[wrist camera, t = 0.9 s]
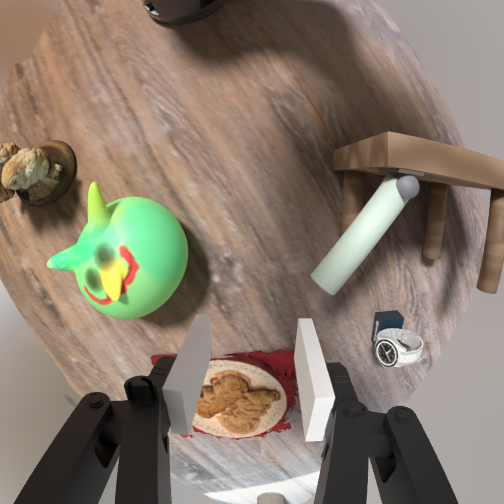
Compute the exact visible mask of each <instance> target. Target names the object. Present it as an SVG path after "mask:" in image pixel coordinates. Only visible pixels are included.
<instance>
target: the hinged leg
mask: <svg viewBox="0 0 504 504" xmlns="http://www.w3.org/2000/svg"><path fill="white" fill-rule="evenodd" d="M418 192H419V182H418V180H417V179H416V178H415V177H414V176H411V175H387V176H385V177H384V178H383V180H382V184H381V185H380V186H379V188H378V189H377V191H376V192H375V193H374V195H373V196H372V197H371V199H370V200H369V201H368V203H367V204H366V205H365V207H364V208H363V209H362V211H361V212H360V213H359V214H358V216H357V217H356V218H355V220H354V221H353V222H352V224H351V225H350V226H349V227H348V229H347V230H346V231H345V233H344V234H343V235H342V236H341V238H340V239H339V240H338V241H337V243H336V244H335V245H334V246H333V248H332V249H331V250H330V251H329V253H328V254H327V255H326V256H325V258H324V259H323V260H322V261H321V262H320V264H319V265H318V266H317V267H316V269H315V270H314V271H313V272H312V273H311V275H310V276H311V277H312V279H313V280H314V281H315V282H316V283H317V284H318V285H319V286H320V287H321V288H323V289H324V290H325V291H326V292H328V293H329V294H331V295H335V294H336V293H337V291H338V290H339V289H340V288H341V287H342V286H343V284H344V283H345V282H346V281H347V280H348V278H349V277H350V276H351V275H352V274H353V272H354V271H355V270H356V269H357V268H358V266H359V265H360V264H361V263H362V261H363V260H364V259H365V258H366V256H367V255H368V254H369V253H370V251H371V250H372V249H373V247H374V246H375V245H376V244H377V242H378V241H379V240H380V238H381V237H382V236H383V235H384V233H385V232H386V231H387V229H388V228H389V227H390V225H391V224H392V223H393V221H394V220H395V219H396V217H397V216H398V214H399V213H400V212H401V210H402V209H403V208H404V206H405V205H406V203H407V202H408V200H409V199H410V198H414V197H415V196H416V195H417V194H418Z"/></svg>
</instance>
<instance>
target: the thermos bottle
mask: <svg viewBox="0 0 504 504" xmlns="http://www.w3.org/2000/svg"><path fill="white" fill-rule="evenodd" d="M257 504H284V496H283V495H282V494H279V493H264V494H261V495H259V496H258V498H257Z"/></svg>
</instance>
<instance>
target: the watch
mask: <svg viewBox="0 0 504 504" xmlns="http://www.w3.org/2000/svg"><path fill="white" fill-rule="evenodd" d="M403 321H404V318H403V316H402V315H401V314H400V313H399V312H398V311H397V310H396V311H385V312H375V319H374V325H373V332H372V338H371V340H372V342H373V344H374V345H375V355H376V358H377V360H378V361H379V363H380V364H381V365H382V366H383V367H385V368H392V367H402V366H403V365H410V364H413V363H415V362H416V361H418V359H419V358H420V356H421V352H422V348H423V341H422V340H421V338H420V336H418V335H417V334H415V333H413V332H411V331H410V330H406V329H404V330H403V329H402V326H403ZM400 340H401V342H402V343H405V344H407V345H409V346H410V347H412V348H413V349H416V350H415V351H410V352H406V351H407V349H406V348H405V347H403V346H402V345H400V343H399V341H400Z"/></svg>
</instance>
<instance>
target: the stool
mask: <svg viewBox="0 0 504 504" xmlns="http://www.w3.org/2000/svg"><path fill="white" fill-rule="evenodd" d="M333 170H341V171H344V181H343V200H342V215H341V228H340V238H341V236H342V235H343V234H344V233H345V231H346V230H347V229H348V227H349V226H350V225H351V224H352V222H353V221H354V220H355V218H356V217H357V216H358V214H359V213H360V212H361V211H362V209H363V194H364V175H365V173H370V174H378V175H386V176H387V175H411V176H414V177H415V178H416V179H417V180H421V181H427V182H431V185H430V200H429V211H428V221H427V230H426V238H425V245H424V252H423V256H424V257H426V258H430V259H439V258H440V252H441V246H442V239H443V232H444V224H445V214H446V204H447V191H448V185H455V186H464V187H472V188H480V189H488V190H491V197H490V209H489V219H488V227H487V234H486V241H485V247H484V253H483V259H482V264H481V269H480V274H479V278H478V282H477V288H478V289H479V290H481V291H483V292H486V293H490V294H495V293H496V292H497V288H498V284H499V280H500V276H501V271H502V267H503V262H504V161H501V160H499V159H496V158H493V157H489V156H486V155H483V154H480V153H477V152H474V151H470V150H467V149H464V148H460V147H456V146H453V145H449V144H445V143H441V142H437V141H433V140H428V139H424V138H420V137H415V136H410V135H405V134H400V133H395V132H389V131H388V132H385V133H381V134H378V135H375V136H373V137H370V138H367V139H364V140H361V141H358V142H355V143H352V144H349V145H347V146H344V147H341V148H338V149H336V150H334V169H333Z"/></svg>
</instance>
